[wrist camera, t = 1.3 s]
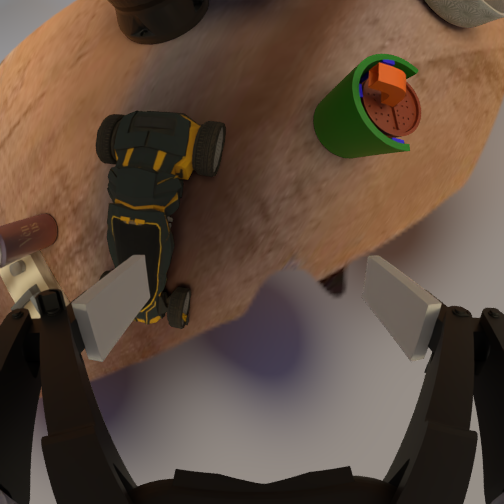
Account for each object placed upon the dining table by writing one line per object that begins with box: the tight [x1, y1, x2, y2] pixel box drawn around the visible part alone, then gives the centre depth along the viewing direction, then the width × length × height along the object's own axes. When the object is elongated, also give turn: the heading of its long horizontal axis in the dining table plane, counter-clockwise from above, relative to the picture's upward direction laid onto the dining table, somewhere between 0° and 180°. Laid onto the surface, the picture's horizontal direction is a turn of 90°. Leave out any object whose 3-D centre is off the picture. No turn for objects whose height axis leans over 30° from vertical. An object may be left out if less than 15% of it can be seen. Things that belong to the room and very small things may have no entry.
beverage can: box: [0, 214, 57, 268], centre depth 32 cm, size 6×6×15 cm
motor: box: [314, 54, 421, 158], centre depth 25 cm, size 10×9×20 cm
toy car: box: [96, 111, 226, 329], centre depth 34 cm, size 16×32×10 cm, turn 169°
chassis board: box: [0, 250, 70, 319], centre depth 40 cm, size 22×14×6 cm, turn 30°
